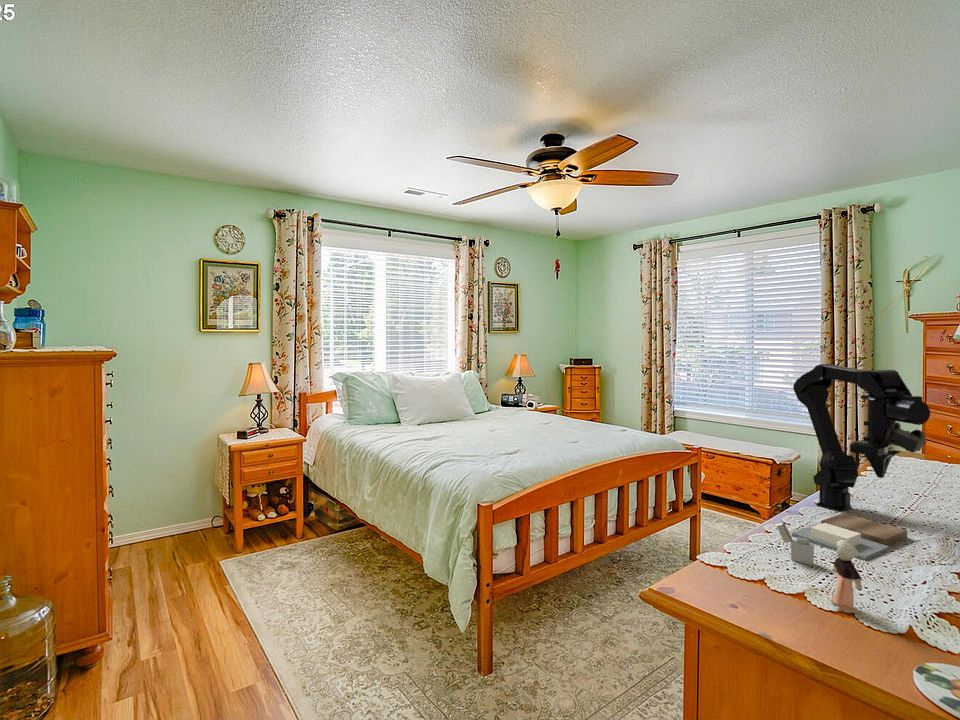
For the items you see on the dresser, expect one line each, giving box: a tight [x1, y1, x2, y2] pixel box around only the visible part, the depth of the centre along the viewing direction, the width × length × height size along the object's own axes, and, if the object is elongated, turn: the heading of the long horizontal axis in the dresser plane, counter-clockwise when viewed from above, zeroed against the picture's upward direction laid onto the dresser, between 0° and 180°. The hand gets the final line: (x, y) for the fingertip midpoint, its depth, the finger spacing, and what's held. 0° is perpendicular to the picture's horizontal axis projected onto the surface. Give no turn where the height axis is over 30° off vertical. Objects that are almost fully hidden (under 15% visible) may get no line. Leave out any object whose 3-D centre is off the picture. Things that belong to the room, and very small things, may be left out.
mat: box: [791, 523, 890, 561], centre depth 120 cm, size 16×11×1 cm
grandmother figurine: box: [830, 540, 863, 614], centre depth 92 cm, size 8×4×13 cm, turn 5°
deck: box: [820, 512, 908, 547], centre depth 125 cm, size 14×11×2 cm
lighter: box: [775, 521, 815, 566], centre depth 111 cm, size 7×2×8 cm, turn 47°
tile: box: [811, 523, 861, 546], centre depth 119 cm, size 8×6×2 cm
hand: (880, 477), depth 128 cm, fingers closed
